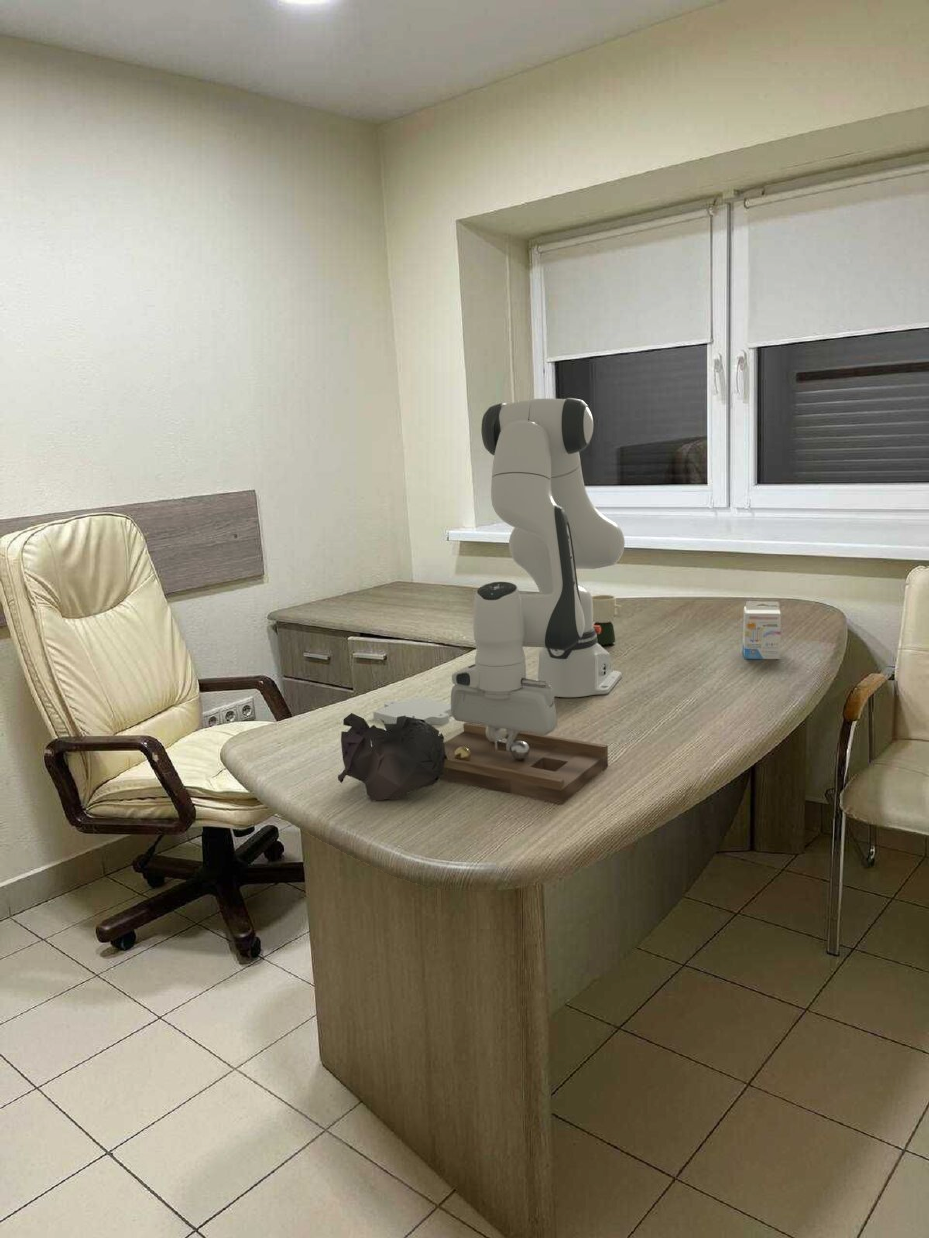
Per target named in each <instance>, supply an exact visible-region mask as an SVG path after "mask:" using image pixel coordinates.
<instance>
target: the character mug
mask: <svg viewBox="0 0 929 1238" xmlns="http://www.w3.org/2000/svg"><path fill="white" fill-rule="evenodd" d="M591 597H592V606H593V625H595V626H597V625H600V627H601V633H600V634H597V640H598V642H597V643H598V644H599V645H600V646H603V645H608V646H609V645H610V644H612V643H616V635H615V628H614V627H615V626H614V624H613V622H614V621H615V620H616V618H621V617H622V605H620V604H617V597H616V596H615V595H611V594H597V595H591Z"/></svg>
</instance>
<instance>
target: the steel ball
mask: <svg viewBox="0 0 929 1238" xmlns="http://www.w3.org/2000/svg"><path fill="white" fill-rule="evenodd" d="M511 754H512V756H513V757H514V758H515V759H517V760H524V759H526V758H527V757H528V756H529V754H530V747H529V745H528V744H527V743H526V742H524V741H517V742H515V743H514V744H513V745H512V747H511Z"/></svg>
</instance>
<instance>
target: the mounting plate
mask: <svg viewBox="0 0 929 1238" xmlns="http://www.w3.org/2000/svg"><path fill="white" fill-rule="evenodd" d="M383 706H384V707H383V708H380V709H376V710H374V711H372V713H373V719H374V720H378V719H379V720H378V721H381V720H384V721H385V722H384V723H388V724H396V722H397V717H400V716H404V715H405V716H406V717H411V718H413V717H412V716H414V718H416V719H422V720H424V721H425V722H426V723H428V724H430V725H432V724H433V725H437V726H438V725H440V726H441V725H445V724H448V723H450V717H453V716H452V714H451V703H447V702H442V701H438V700H434V699H429V698H425V697H422V696H421V697H420V696H416V695H415V696H413V697H410V698H408V699H407V698H406V699H405V700H402V701H399V700H398V701H397V700H389V701H386V702H384V705H383ZM380 719H381V720H380Z"/></svg>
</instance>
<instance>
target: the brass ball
mask: <svg viewBox="0 0 929 1238" xmlns="http://www.w3.org/2000/svg"><path fill="white" fill-rule="evenodd" d="M454 757H455V759H459V760H464V761H469V760H470V759H471V752H470V750H469V749H468V748H466V747H459V748H457V749H456V751H455V753H454Z"/></svg>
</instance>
